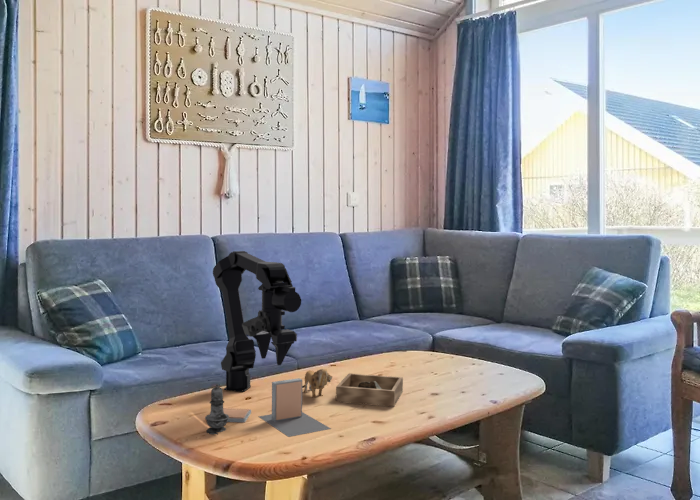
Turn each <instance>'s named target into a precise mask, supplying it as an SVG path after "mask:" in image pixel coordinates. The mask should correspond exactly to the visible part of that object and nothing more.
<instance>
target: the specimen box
mask: <svg viewBox="0 0 700 500" xmlns="http://www.w3.org/2000/svg"><path fill="white" fill-rule="evenodd" d="M365 381H366V382H371V381H376V382H377V384H378V385H379V386H380V388H382V389H372V388H359V387H358V385H359V383H361V382H365ZM403 384H404V378H403V376H392V375H391V376H390V375H389V376H387V375H378V374H377V375H376V374H365V373H364V374H362V373H350V372H349V373H348V374H346V376H345V377H344V378H343V379H342V380H341V381H340V382H339V383H338V384H337V385H336V388H335V401H336V402H340V403H344V404H355V405H357V404H358V405H365V406H366V405H368V406H369V405H371V406H378V407H379V406H380V407H393V408H395V406H396V404H397V403H398V401H399V399H400V397H401V395H402V394H403V392H404V390H403V388H404V385H403Z"/></svg>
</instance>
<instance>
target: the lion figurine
mask: <svg viewBox="0 0 700 500" xmlns="http://www.w3.org/2000/svg"><path fill="white" fill-rule="evenodd" d="M332 379H333V375H331V374H330V373H328V370H327V368H326V369H325V368H321V369H317V371H313V370H308V371H306V372H305V375H304V385H302V389H304V390H303V393H308V390H309V391H311V394H312V398H313V399H314V398H315V399H316V398H317V395H316V390H318V397H323V396H324V395H322V392H323V389H324V388H325V387H326V386H327V384H328V383H331V381H332ZM308 388H309V389H308Z"/></svg>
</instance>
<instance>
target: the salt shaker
mask: <svg viewBox="0 0 700 500" xmlns="http://www.w3.org/2000/svg"><path fill="white" fill-rule="evenodd" d="M210 399H211V400H210V401H209V404H210V412H209V414H207V415H206V416H205V417H204V419H205V420H206V424H207V426H208V428H207V429H206V433H207V434H208V433H209V435H214V434H217V435H219V433H222V432H225V431H227V428H226V427H225V426H226V425H227V424H228V422H227V421H228V418H229V416H228V415H227V414H224V411H223V408H224V404H225V400H224V388H222V387H220V386H219V383H216V384H215V386H214V387H212V388H211V391H210Z"/></svg>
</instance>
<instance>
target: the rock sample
mask: <svg viewBox="0 0 700 500" xmlns="http://www.w3.org/2000/svg"><path fill="white" fill-rule="evenodd" d="M358 387H359V388H372V389H382V388H380V386H379V385H378V384H377V382H376V381H371V382H366V381H365V382H361V383H359V385H358Z"/></svg>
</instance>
